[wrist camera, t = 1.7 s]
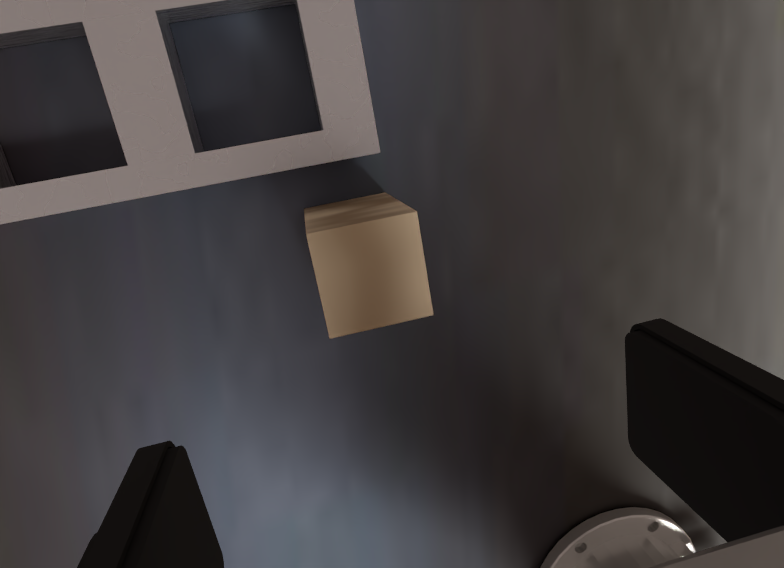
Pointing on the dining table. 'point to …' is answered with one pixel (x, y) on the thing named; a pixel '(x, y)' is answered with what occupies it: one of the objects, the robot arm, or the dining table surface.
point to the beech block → (368, 263)
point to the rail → (185, 99)
